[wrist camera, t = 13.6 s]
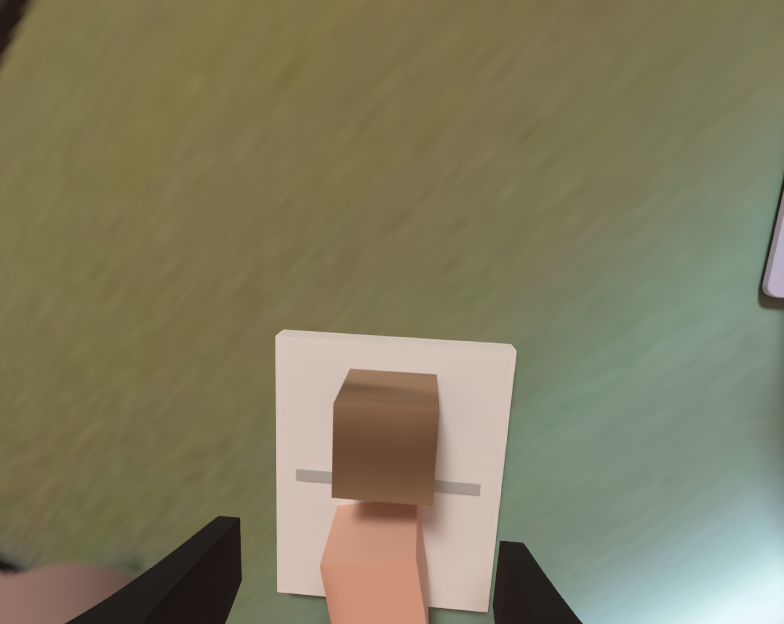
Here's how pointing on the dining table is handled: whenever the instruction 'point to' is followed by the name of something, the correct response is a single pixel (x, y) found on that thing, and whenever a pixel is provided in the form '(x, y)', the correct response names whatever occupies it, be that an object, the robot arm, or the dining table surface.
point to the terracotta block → (376, 565)
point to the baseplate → (453, 458)
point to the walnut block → (385, 437)
